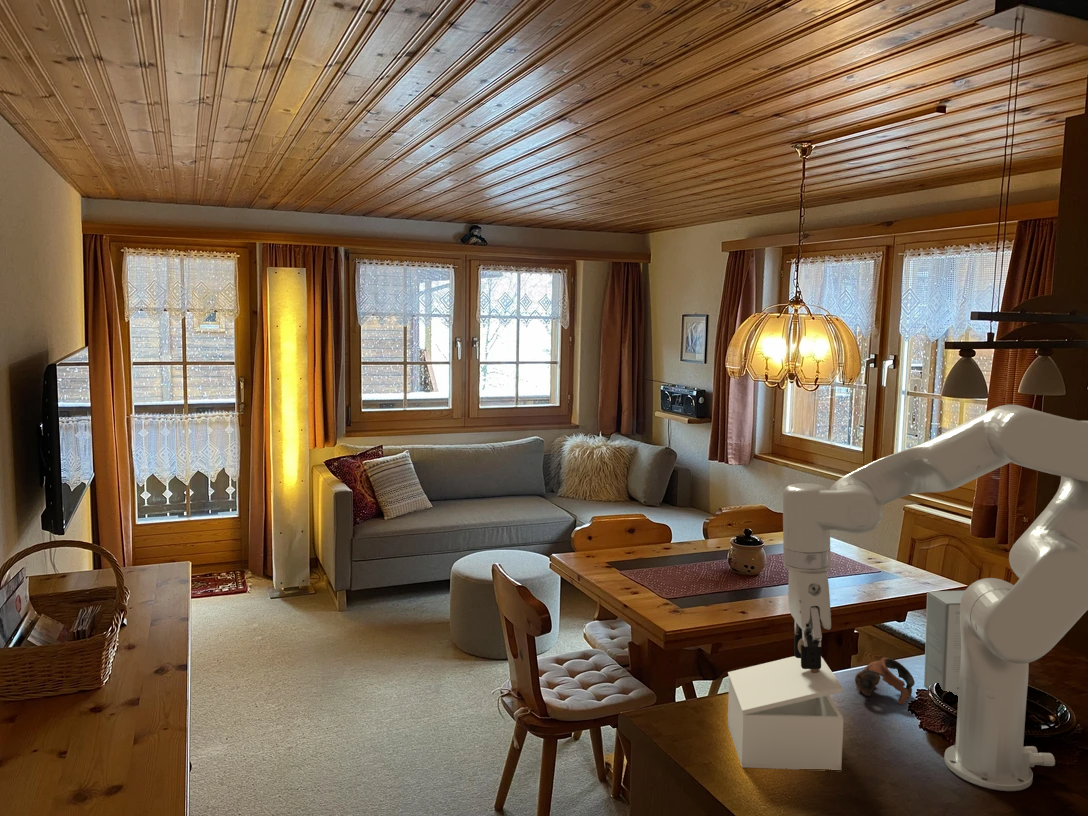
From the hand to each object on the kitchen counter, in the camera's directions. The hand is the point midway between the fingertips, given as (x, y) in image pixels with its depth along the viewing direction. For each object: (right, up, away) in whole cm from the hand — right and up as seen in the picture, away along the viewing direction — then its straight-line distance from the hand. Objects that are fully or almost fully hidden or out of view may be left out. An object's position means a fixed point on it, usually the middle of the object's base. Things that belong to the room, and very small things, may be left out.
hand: (807, 661), depth 134 cm
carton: (-4, -15, +2) cm, 16 cm away
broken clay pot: (+21, -14, +21) cm, 33 cm away
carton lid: (-4, -4, +1) cm, 6 cm away
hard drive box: (+39, -14, +22) cm, 47 cm away
